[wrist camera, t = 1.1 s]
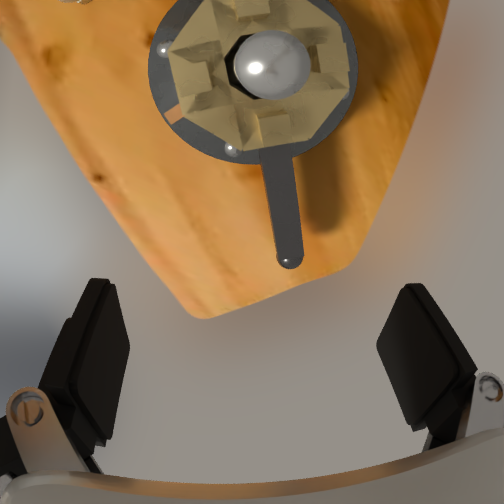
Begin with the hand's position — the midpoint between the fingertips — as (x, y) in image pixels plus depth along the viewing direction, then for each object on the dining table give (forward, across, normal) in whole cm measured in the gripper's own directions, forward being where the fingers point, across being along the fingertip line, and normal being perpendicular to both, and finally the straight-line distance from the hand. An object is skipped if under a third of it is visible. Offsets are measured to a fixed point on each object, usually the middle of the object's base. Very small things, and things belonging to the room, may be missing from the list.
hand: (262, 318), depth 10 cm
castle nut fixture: (+20, -3, -2) cm, 20 cm away
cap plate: (+22, -1, -8) cm, 24 cm away
